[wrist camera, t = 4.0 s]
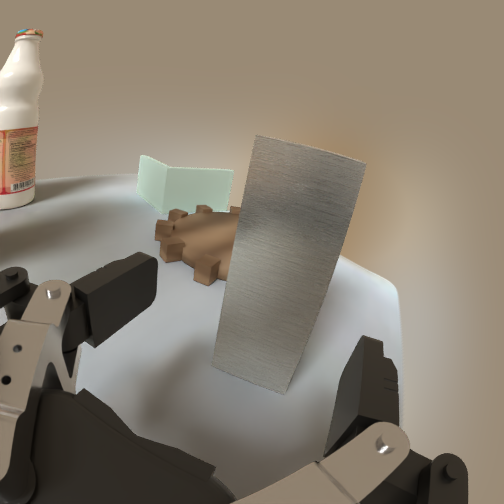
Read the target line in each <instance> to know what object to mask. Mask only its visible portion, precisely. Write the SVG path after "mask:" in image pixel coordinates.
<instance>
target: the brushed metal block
mask: <svg viewBox="0 0 504 504" xmlns="http://www.w3.org/2000/svg"><path fill="white" fill-rule="evenodd" d="M365 168H366V163H365V162H363V161H360V160H357V159H354V158H351V157H347V156H344V155H341V154H337V153H334V152H330V151H326V150H322V149H319V148H315V147H312V146H308V145H303V144H300V143H296V142H291V141H287V140H283V139H278V138H272V137H266V136H260V135H256V136H255V141H254V146H253V151H252V155H251V161H250V165H249V170H248V175H247V180H246V185H245V190H244V194H243V199H242V205H241V209H240V214H239V220H238V225H237V230H236V235H235V240H234V245H233V250H232V256H231V261H230V266H229V271H228V277H227V282H226V288H225V293H224V298H223V304H222V309H221V315H220V321H219V326H218V332H217V337H216V343H215V349H214V355H213V360H212V366H213V367H215V368H218V369H220V370H222V371H225V372H227V373H229V374H232V375H234V376H236V377H239V378H241V379H244V380H246V381H249V382H251V383H254V384H256V385H259V386H262V387H264V388H267V389H269V390H272V391H275V392H278V393H280V394H283V395H284V394H285V392H286V389H287V387H288V385H289V383H290V380H291V378H292V376H293V374H294V371H295V369H296V367H297V365H298V362H299V360H300V358H301V355H302V353H303V350H304V348H305V346H306V343H307V341H308V338H309V336H310V333H311V331H312V328H313V326H314V323H315V321H316V318H317V316H318V313H319V310H320V308H321V305H322V302H323V300H324V297H325V294H326V292H327V289H328V286H329V283H330V281H331V278H332V275H333V272H334V269H335V266H336V263H337V261H338V258H339V255H340V252H341V249H342V246H343V243H344V239H345V236H346V233H347V230H348V227H349V224H350V220H351V217H352V214H353V211H354V207H355V204H356V200H357V197H358V193H359V190H360V186H361V183H362V179H363V175H364V172H365Z"/></svg>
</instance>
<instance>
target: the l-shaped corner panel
mask: <svg viewBox="0 0 504 504" xmlns="http://www.w3.org/2000/svg"><path fill="white" fill-rule="evenodd" d="M233 175H234V171H233V170H229V169H211V168H186V167H170V166H168V165H166V164H164V163H161V162H159V161H157V160H155V159H152V158H151V157H148V156H146V155H141V156H140V164H139V173H138V182H137V194H138V195H139V196H141V197H142V198H143V199H144V200H145V201H147V202H148V203H149V204H150V205H151V206H152V207H154V208H155V209H156V210H157V211H158V212H160V213H161V214H169V211H170V210H173V209H179V210H183V211H186V212H188V213H191V212H196V206H197V205H207V206H209V207H210V208H212V209H213V211H227V207H228V201H229V195H230V191H231V185H232V180H233Z"/></svg>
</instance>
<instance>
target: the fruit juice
mask: <svg viewBox="0 0 504 504" xmlns="http://www.w3.org/2000/svg"><path fill="white" fill-rule="evenodd" d="M42 37H43V31H41V30H37V29H26V30H21V31H19V32H18V33H17V35H16V37H15V46H14V48H13V50H12V52H11V54H10V56H9V58H8V59H7V61H6V63H5V65H4V67H3V68H2V70H1V71H0V209H11V208H16V207H20V206H23V205H26V204H28V203H30V202H31V201H32V200H33V199H34V196H35V160H36V143H37V131H38V122H39V107H38V97H39V95H40V92H41V90H42V87H43V81H44V76H43V73H42V70H41V66H40V58H39V42H41V39H42Z"/></svg>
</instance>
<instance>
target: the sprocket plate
mask: <svg viewBox="0 0 504 504" xmlns="http://www.w3.org/2000/svg"><path fill="white" fill-rule="evenodd" d="M240 209H241V208H240V207H233V206H231V207H230V213H227V212H212V211H213V209H212V208H210V207H209V206H207V205H197V206H196V212H195V213H194V214H190V215H188V212H186V211H183V210H179V209H173V210H170V211H169V217H168V221H166V220H157V223H156V230H155V240H158V241H161V244H160V257H161V258H162V259H163V260H164V261H165V262H166V263H167V262H174V261H180V260H182V261H183V262H184V263H186V264H187V265H189V266H190V267H192V268H194V269H195V271H194V279H193V280H194V281H197V282H199V283H202V284H204V285H207V286H209V285H210V284H211V283H212V282H213V281H215V280H216V279H217V278H218V279H221V280H225V281H227V277H228V271H229V266H230V261H231V256H232V250H233V245H234V240H235V235H236V230H237V225H238V220H239V214H240Z"/></svg>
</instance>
